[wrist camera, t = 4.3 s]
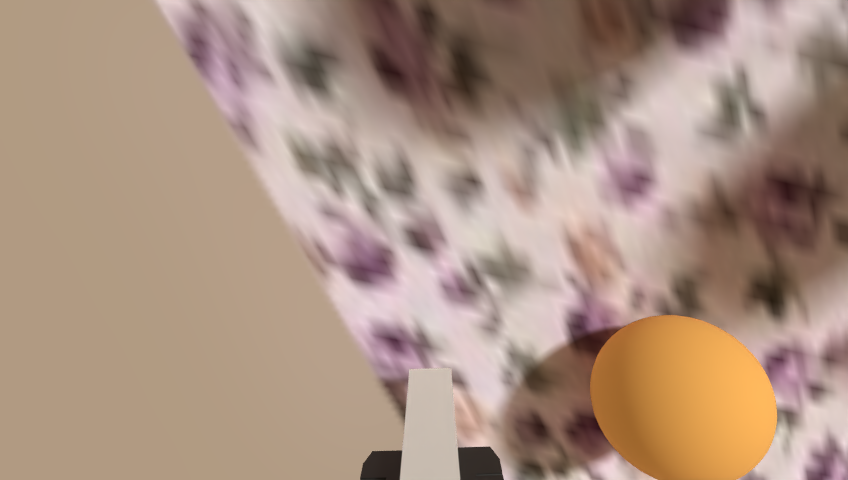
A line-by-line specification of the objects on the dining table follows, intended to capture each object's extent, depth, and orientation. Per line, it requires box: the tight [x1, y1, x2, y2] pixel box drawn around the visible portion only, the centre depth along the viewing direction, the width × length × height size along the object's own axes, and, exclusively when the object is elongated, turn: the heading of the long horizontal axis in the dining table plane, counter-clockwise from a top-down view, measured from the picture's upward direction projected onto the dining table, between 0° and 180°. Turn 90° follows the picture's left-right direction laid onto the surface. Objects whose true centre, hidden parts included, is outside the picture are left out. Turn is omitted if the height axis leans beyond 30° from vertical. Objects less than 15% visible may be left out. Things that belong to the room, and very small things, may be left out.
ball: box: [590, 315, 777, 480], centre depth 16 cm, size 6×6×6 cm
